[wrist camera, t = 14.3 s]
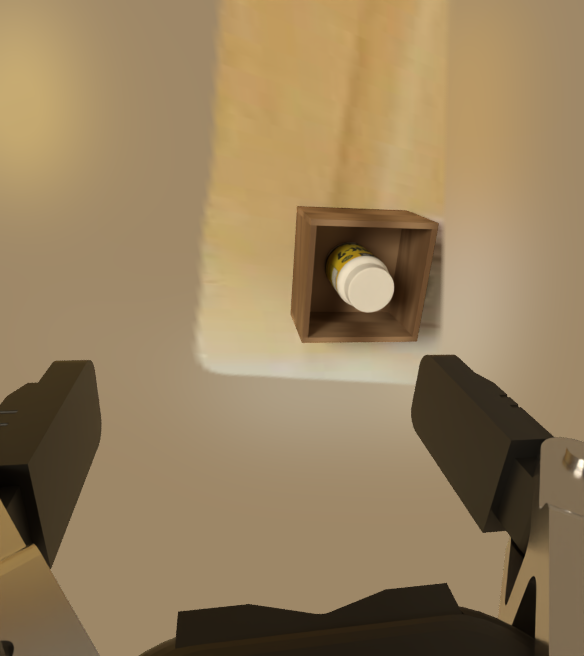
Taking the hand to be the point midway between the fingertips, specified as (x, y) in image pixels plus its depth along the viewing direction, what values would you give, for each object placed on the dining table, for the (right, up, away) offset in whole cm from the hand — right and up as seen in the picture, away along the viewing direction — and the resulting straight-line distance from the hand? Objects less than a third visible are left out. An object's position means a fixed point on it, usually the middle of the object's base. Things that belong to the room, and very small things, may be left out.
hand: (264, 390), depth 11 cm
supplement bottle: (+6, +8, +34) cm, 35 cm away
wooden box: (+6, +8, +34) cm, 36 cm away
